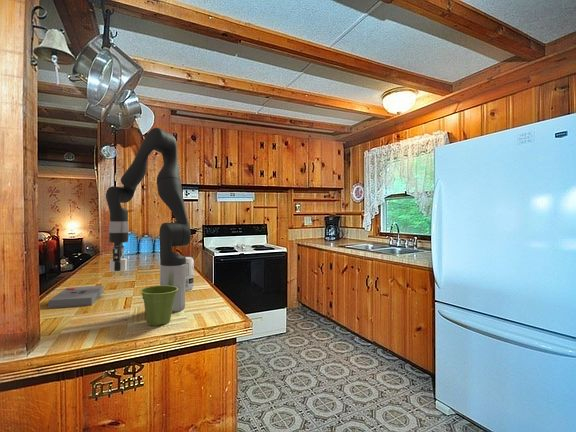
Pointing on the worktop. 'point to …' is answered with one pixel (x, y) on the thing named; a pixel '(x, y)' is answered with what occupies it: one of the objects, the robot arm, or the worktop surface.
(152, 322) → the plant pot
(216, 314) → the worktop surface
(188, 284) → the supplement can
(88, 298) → the socket plate
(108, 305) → the worktop surface
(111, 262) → the plug
